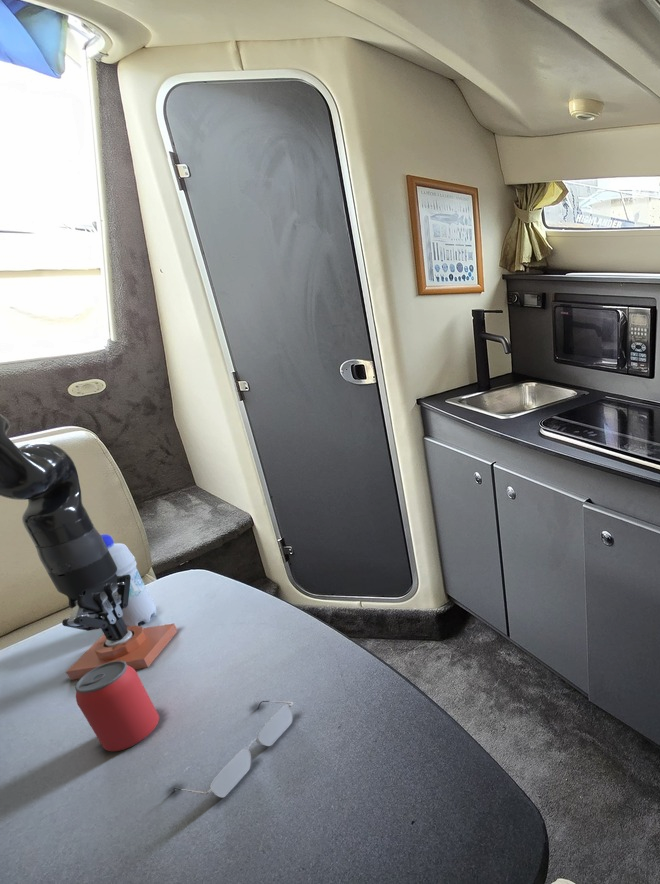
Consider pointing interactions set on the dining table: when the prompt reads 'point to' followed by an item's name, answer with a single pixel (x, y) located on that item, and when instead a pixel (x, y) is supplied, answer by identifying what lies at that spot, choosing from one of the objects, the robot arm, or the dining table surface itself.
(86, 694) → the beer can
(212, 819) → the dining table surface
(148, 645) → the orange button base
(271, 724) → the eyeglasses
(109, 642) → the white push button
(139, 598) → the bottle
